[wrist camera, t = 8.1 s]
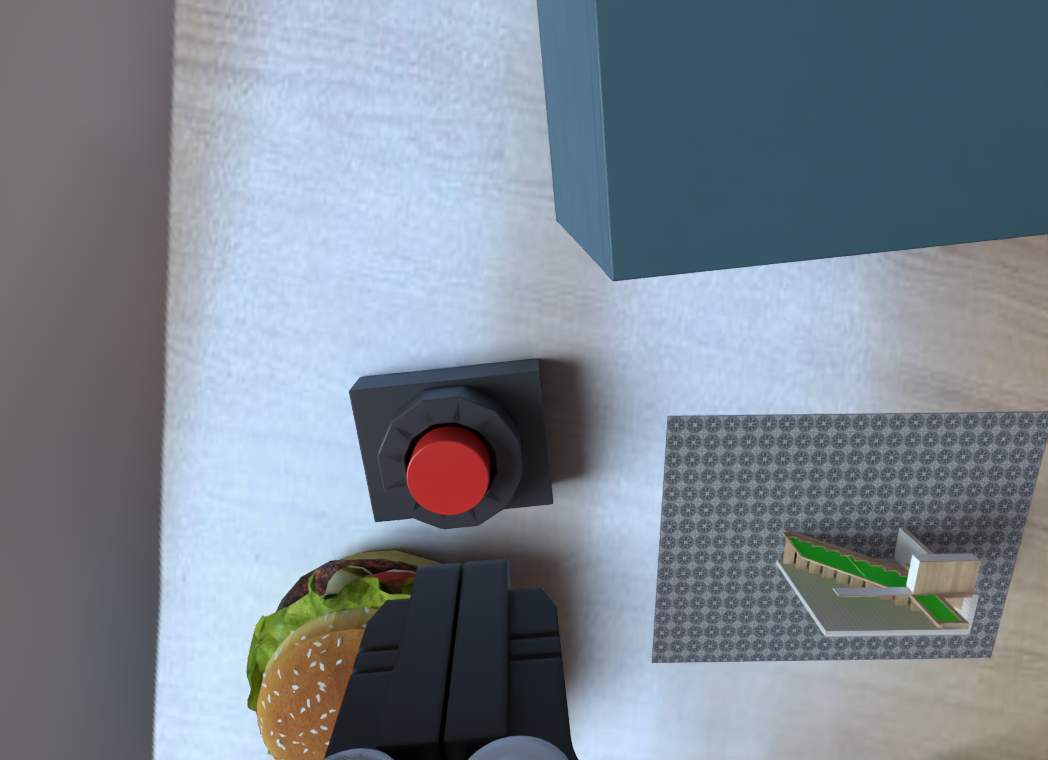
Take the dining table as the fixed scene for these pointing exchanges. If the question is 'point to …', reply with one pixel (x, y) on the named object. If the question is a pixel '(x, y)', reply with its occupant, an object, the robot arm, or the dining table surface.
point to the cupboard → (792, 127)
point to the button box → (460, 401)
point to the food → (319, 647)
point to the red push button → (449, 471)
